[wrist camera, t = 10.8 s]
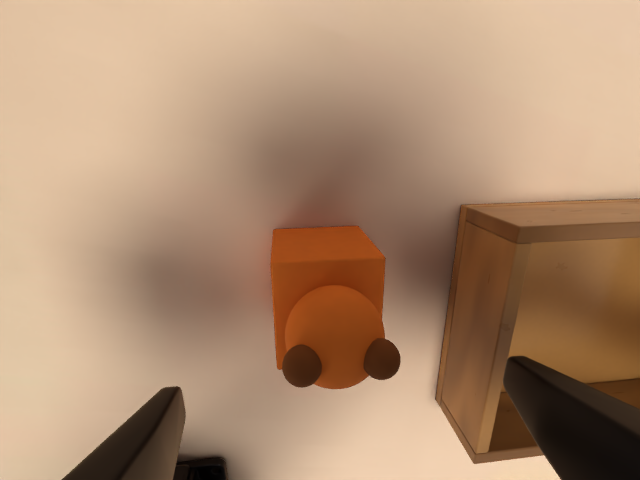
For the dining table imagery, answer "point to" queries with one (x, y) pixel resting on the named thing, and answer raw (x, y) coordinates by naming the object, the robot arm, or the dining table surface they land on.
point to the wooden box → (538, 311)
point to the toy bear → (329, 307)
